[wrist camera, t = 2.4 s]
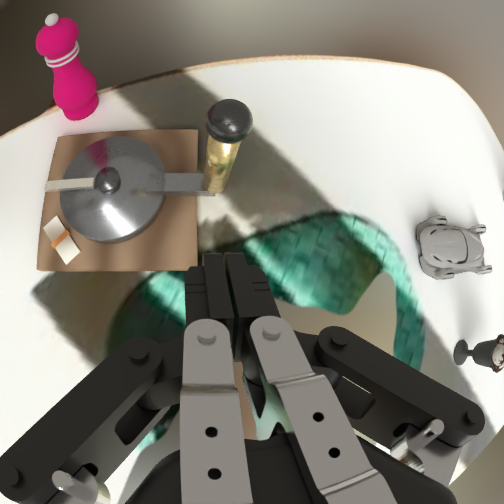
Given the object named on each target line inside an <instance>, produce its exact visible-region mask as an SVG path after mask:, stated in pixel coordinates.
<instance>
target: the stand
mask: <svg viewBox="0 0 504 504" xmlns="http://www.w3.org/2000/svg"><path fill="white" fill-rule="evenodd" d="M115 136H126V137H132V138H136V139H138V140H141V141H143V142H144V143H146V144H148V145H149V146H150V147H151V148H152V149H153V150H154V151H155V152H156V153H157V155H158V156H159V158H160V160H161V162H162V164H163V168H164V173H197V152H198V130H192V129H165V130H132V131H115V132H101V133H90V134H80V135H71V136H63V137H58V139H57V143H56V146H55V150H54V154H53V159H52V163H51V167H50V172H49V177H48V181H55V180H62V179H63V176H64V174H65V172H66V170H67V168H68V166H69V165H70V163H71V162H72V160H73V159H74V158H75V157H76V156H77V155H78V154H79V153H80V152H81V151H82V150H83V149H85V148H86V147H87V146H89V145H91V144H92V143H94V142H96V141H99V140H102V139H104V138H109V137H115ZM190 266H198V264H197V196H165V200H164V204H163V206H162V209H161V211H160V213H159V215H158V216H157V218H156V219H155V220H154V222H153V223H152V224H151V225H150V226H149V227H148V228H147V229H146V230H145V231H144V232H143V233H141V234H140V235H138V236H137V237H135V238H133V239H131V240H128V241H125V242H122V243H117V244H101V243H96V242H93V241H90V240H89V239H87V238H85V237H84V236H82V235H81V234H80V233H78V232H77V231H76V230H75V229H74V228H73V227H72V226H71V225H70V224H69V223H68V221H67V220H66V218H65V216H64V214H63V212H62V209H61V204H60V191H53V192H45V198H44V204H43V211H42V218H41V225H40V234H39V244H38V256H37V270H39V271H187V270H188V269H189V267H190Z"/></svg>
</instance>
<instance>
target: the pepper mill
mask: <svg viewBox="0 0 504 504" xmlns="http://www.w3.org/2000/svg"><path fill="white" fill-rule="evenodd" d="M45 23H46V25H45V26H44V27H43V28H42V29H41V30H40V32H39V33H38V35H37V38H36V47H37V51H38V52H39V53H40V54H41V55H42V56H45V61H46V63H47V65H48V66H49V67H52V69H53V72H54V86H53V96H54V100H55V103H56V104H57V106H58V107H60V108H61V109H62V110H63V112H64V114H65V116H66V118H68V119H69V120H73V121H76V120H81V119H84V118H86V117H88V116H89V115H90V114H92V113H93V112H94V110H95V109H96V108H97V105H98V96H97V93H96V88H97V82H96V80H95V77H94V75H93V74H92V73H91V72H90V71H89V70H88V69H87V68H85V67H84V66H83V65H82V64H81V62H80V60H79V58H78V52H79V46H78V42H77V41H76V40H77V38H78V34H79V31H78V27H77V24H76V23H75V22H74V21H73V20H71V19H69V18H58V15H57V14H50V15H48V16H47V18H46V20H45Z"/></svg>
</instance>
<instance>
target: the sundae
mask: <svg viewBox="0 0 504 504" xmlns="http://www.w3.org/2000/svg"><path fill="white" fill-rule="evenodd" d="M467 356H472V357H473V360H474V361H475V363H476V364H479V365H482V366H486V367H490V368H492V369H493V371H495V372H496V373H498V372H499V371H501V370H502V369H503V367H504V335H503V334H500V335H499V336H498V337H497V339H495V340H490V341H485V342H481V343H478V344H477V345H476V346H475V348H474V350H468V345H467V343H466V342H465V341H464V340H461V341H459V342H458V343H457V345H456V347H455V350H454V361H455V363H456V364H457V365H461V364H463V363H464V362H465V360H466V358H467Z"/></svg>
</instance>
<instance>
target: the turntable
mask: <svg viewBox="0 0 504 504" xmlns="http://www.w3.org/2000/svg"><path fill="white" fill-rule="evenodd" d="M205 123H206V129H207V131H208V133H209V138H208V144H207V150H206V157H205V164H204V171H203V173H164V168H163V164H162V162H161V160H160V158H159V156H158V155H157V153H156V152H155V151H154V150H153V149H152V148H151V147H150V146H149V145H148V144H146V143H144V142H143V141H141V140H138V139H136V138H132V137H126V136H115V137H109V138H104V139H102V140H99V141H96V142H94V143H92V144H91V145H89V146H87V147H86V148H85V149H83V150H82V151H81V152H80V153H79V154H78V155H77V156H76V157H75V158H74V159H73V160H72V162H71V163H70V165H69V166H68V168H67V170H66V172H65V174H64V176H63V179H62V180H55V181H46V186H45V191H46V192H53V191H60V204H61V209H62V212H63V214H64V216H65V218H66V220H67V221H68V223H69V224H70V225H71V226H72V227H73V228H74V229H75V230H76V231H77V232H78V233H80V234H81V235H82V236H84V237H85V238H87V239H89V240H90V241H93V242H96V243H101V244H117V243H122V242H125V241H128V240H131V239H133V238H135V237H137V236H138V235H140V234H141V233H143V232H144V231H145V230H146V229H147V228H148V227H149V226H150V225H151V224H152V223H153V222H154V220H155V219H156V218H157V216H158V215H159V213H160V211H161V209H162V206H163V204H164V200H165V196H215V194H216V193H220V192H222V191H223V190H224V189H225V187H226V185H227V181H228V178H229V175H230V172H231V169H232V166H233V163H234V160H235V157H236V154H237V151H238V148H239V145H240V142H241V141H242V140H243V139H244V138H246V137H247V135H248V134H249V133H250V131H251V128H252V124H253V118H252V114H251V112H250V110H249V108H248V107H247V106H246V105H245V104H244V103H242V102H240V101H238V100H234V99H224V100H221V101H219V102H217V103H215V104H214V105H213V106H212V107H211V108H210V109H209V111H208V113H207V115H206V120H205Z"/></svg>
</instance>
